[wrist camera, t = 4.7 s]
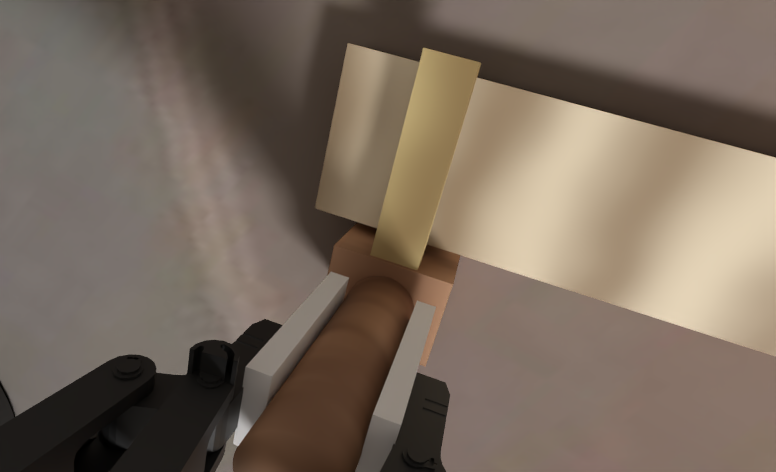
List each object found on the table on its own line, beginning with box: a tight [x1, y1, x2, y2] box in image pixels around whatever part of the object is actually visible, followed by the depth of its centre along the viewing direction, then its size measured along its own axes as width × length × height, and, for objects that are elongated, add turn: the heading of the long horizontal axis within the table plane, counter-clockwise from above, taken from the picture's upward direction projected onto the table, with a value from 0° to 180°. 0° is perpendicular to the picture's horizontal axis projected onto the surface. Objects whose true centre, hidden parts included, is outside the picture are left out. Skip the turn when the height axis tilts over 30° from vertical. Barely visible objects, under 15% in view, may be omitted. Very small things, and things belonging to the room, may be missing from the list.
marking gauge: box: [233, 48, 481, 472], centre depth 15 cm, size 5×12×13 cm, turn 166°
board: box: [315, 43, 776, 357], centre depth 19 cm, size 24×7×2 cm, turn 76°
